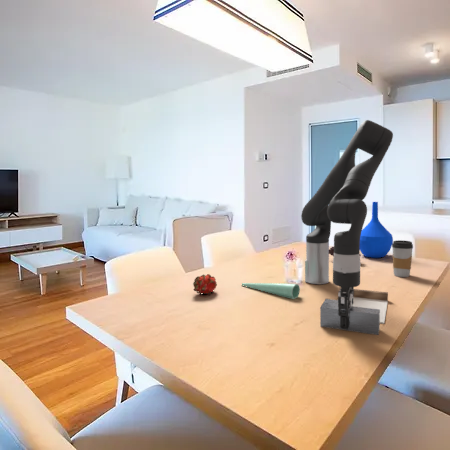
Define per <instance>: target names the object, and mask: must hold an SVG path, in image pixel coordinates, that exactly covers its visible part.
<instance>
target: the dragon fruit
mask: <svg viewBox="0 0 450 450" xmlns="http://www.w3.org/2000/svg"><path fill="white" fill-rule="evenodd" d="M216 280H217V279H216V277H215V276H212V275H211V274H210V273H208V274H202V275H200V276H196V277H195V278H194V281H193V283H192V285H193V287H194V288H193V291H194V292H196V294H199V293H204V294H206V293H207V294H206V295H209V294H210V295H211V294H212V293H211V292H213V290H214V291H215V290H216V288H217V286H218V284H217V281H216ZM208 293H209V294H208ZM213 293H214V292H213Z"/></svg>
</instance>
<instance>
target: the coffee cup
mask: <svg viewBox="0 0 450 450" xmlns="http://www.w3.org/2000/svg"><path fill="white" fill-rule="evenodd" d="M413 248H414V244H413V241H410V240H402V239H401V240H399V239H398V240H393V244H392V246H391V249H392V269H393V275H394V276H395V277H398V278H408V277H409V276H410V274H411V269H412V258H413Z"/></svg>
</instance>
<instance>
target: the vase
mask: <svg viewBox="0 0 450 450" xmlns="http://www.w3.org/2000/svg"><path fill="white" fill-rule="evenodd" d="M371 205H372V207H371V219H370V221H369V222H368V223H367V225H366V226H364V228H362V231H361V236H360V252H361V253H360V254H362V256H365V257H366V258H370V257H371V259H379V258H380V259H381V257H382V258H384V257H386V256H387V255H388V254H389V252H390V251H391V249H392V244H393V241H394V238H393V234H392V233H391V232H390V231H389V230H387V228H385V226H384V225H383V224H382V223H381V221H380V219H379V201H372V204H371Z"/></svg>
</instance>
